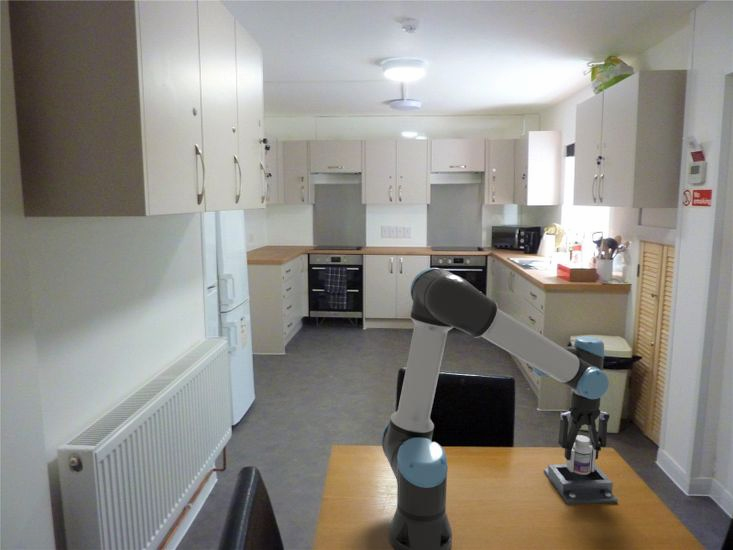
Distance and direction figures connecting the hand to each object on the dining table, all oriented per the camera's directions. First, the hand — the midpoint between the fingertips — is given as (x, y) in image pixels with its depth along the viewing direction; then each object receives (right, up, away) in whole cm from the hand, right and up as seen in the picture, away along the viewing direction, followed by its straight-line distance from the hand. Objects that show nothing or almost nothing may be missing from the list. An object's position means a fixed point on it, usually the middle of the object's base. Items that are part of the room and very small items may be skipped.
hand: (580, 469), depth 143 cm
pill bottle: (0, 0, 0) cm, 1 cm away
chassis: (0, -5, +1) cm, 5 cm away
